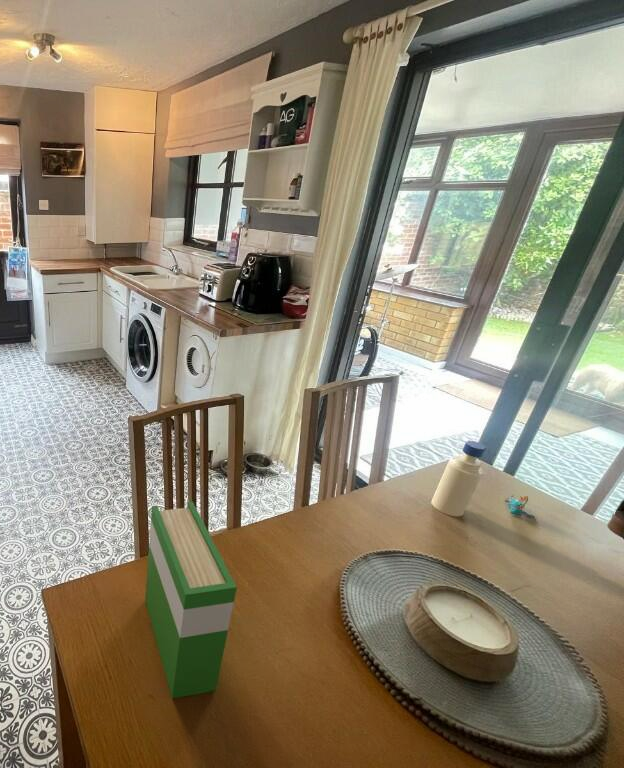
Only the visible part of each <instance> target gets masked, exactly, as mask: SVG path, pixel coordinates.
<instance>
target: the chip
mask: <svg viewBox="0 0 624 768" xmlns="http://www.w3.org/2000/svg"><path fill="white" fill-rule="evenodd" d="M614 512H615V511H614ZM613 514H614V513H613ZM613 514H612V515H613ZM606 526H607V528H608V529H609V530H610V531H611V532H612V533H613V534H614V535H616V536H618V537H620V538H622V535H623V534H624V512H623V511H618V512H615V514H614V515H613V517H612V516H611V518H610V520H609V521H608V522H607V524H606Z"/></svg>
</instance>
